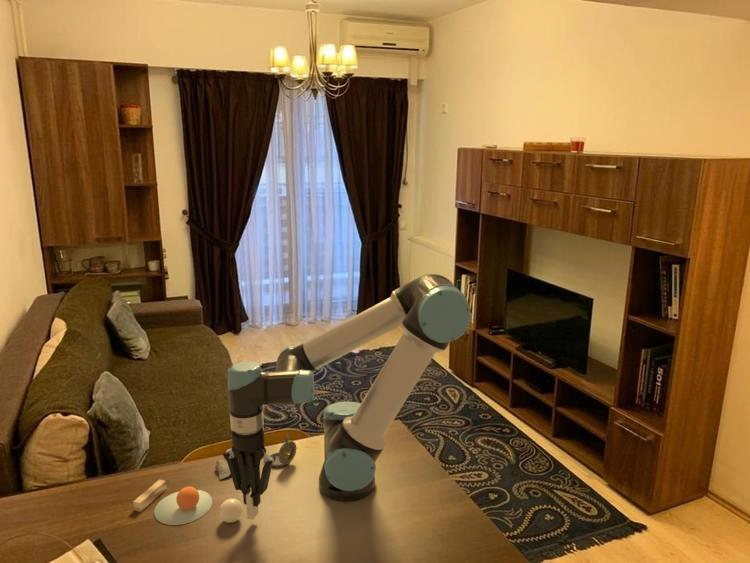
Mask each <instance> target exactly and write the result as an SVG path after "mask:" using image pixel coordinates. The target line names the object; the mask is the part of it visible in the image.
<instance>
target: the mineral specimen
mask: <svg viewBox="0 0 750 563" xmlns="http://www.w3.org/2000/svg"><path fill="white" fill-rule="evenodd" d="M238 462H239V460H238ZM214 470H215V471H217V473H218V480H219V481H221V480H223V479H225V478H228V477H230V475H231V473H230V469H229V466H228V463H227V461H226V459H225V458H224V457H222V458H220V459H218V460H217V461H216V465H215V466H214Z"/></svg>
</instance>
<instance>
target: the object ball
mask: <svg viewBox="0 0 750 563" xmlns="http://www.w3.org/2000/svg"><path fill="white" fill-rule="evenodd" d="M197 490H198V489H197V488H195V487H193V486H185V487H183V488H181V489H180V490H179V491H178V492H179V493H178V495H177V498H176V501H177V504H178V506H179V507H180V508H181V509H183V510H190V509H192V508H194V507H195V506H196V505H197V504H198V502H199V493H198V491H197Z"/></svg>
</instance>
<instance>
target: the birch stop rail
mask: <svg viewBox="0 0 750 563" xmlns="http://www.w3.org/2000/svg"><path fill="white" fill-rule="evenodd" d="M167 488H168V486H167V481H166V480H164V479H158V480H157V481H156V482H154V484H152V485H151V486H149V488H148V489H146V490H145V491H144V492H143V493H142V494H140V495H139V496H138V497H137V498H136V499H135V500H133V501H132V503H133V510H134V511H136V512H140V513H142V511H144V510H145V508H147V507H148V506H149V505H150V504H151V503H153V501H155V500H156V499H157V498H158V497H159V496H160V495H162V494H163V493H164V492H165V491H166V490H167Z"/></svg>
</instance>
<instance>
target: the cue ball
mask: <svg viewBox="0 0 750 563" xmlns="http://www.w3.org/2000/svg"><path fill="white" fill-rule="evenodd" d="M243 508H244V507H243V504H242V502H241V501H240V500H239V499H237V498H228V499H226V500H224V501H223V502H222V503H221V505H220V507H219V516H220V518H221V520H223V521H224V522H225V523H228V524H231V523H235V522H237V521H238V520H239V519H240V518H241V517H242V514H243V512H244V509H243Z"/></svg>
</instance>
